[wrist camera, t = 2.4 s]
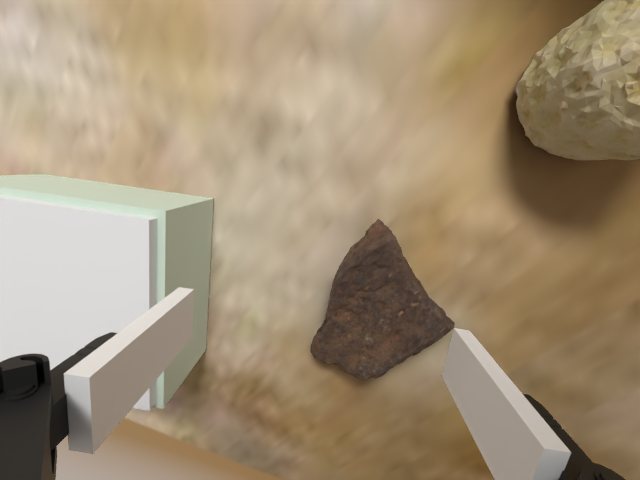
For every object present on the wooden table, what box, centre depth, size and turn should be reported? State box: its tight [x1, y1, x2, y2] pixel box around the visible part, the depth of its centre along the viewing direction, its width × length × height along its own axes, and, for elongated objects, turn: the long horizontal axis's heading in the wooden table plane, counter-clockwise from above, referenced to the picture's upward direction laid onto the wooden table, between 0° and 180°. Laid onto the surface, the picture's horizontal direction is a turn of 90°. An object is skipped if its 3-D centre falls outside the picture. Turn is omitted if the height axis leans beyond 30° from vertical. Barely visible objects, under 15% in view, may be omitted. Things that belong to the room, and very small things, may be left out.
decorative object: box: [515, 0, 640, 161], centre depth 18 cm, size 9×10×10 cm
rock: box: [311, 219, 454, 381], centre depth 24 cm, size 11×10×4 cm
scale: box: [0, 174, 214, 411], centre depth 23 cm, size 15×14×8 cm
